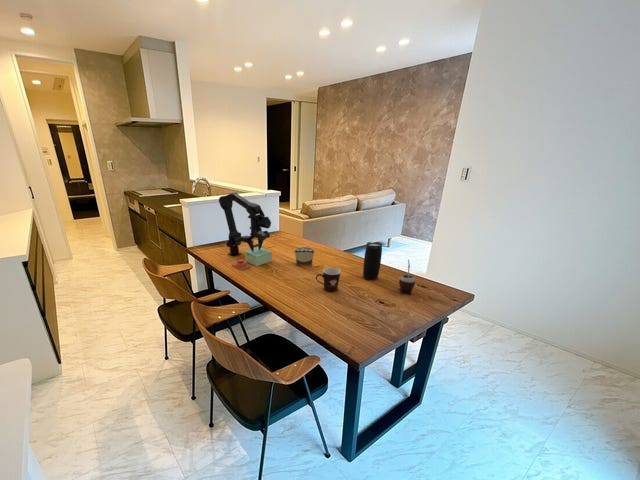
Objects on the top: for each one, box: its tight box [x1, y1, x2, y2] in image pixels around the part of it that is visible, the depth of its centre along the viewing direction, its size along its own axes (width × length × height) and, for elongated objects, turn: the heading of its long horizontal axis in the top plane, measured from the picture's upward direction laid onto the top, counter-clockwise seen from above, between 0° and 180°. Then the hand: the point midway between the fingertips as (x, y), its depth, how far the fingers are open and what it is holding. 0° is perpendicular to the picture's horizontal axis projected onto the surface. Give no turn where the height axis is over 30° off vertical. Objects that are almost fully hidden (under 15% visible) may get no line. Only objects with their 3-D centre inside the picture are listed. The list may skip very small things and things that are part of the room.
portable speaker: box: [362, 241, 383, 281], centre depth 160 cm, size 9×9×20 cm
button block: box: [232, 260, 251, 271], centre depth 182 cm, size 10×6×3 cm, turn 41°
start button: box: [237, 258, 245, 264], centre depth 181 cm, size 4×4×2 cm
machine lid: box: [243, 243, 273, 258], centre depth 188 cm, size 12×13×5 cm
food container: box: [293, 246, 315, 267], centre depth 183 cm, size 12×6×10 cm, turn 84°
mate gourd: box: [398, 259, 416, 295], centre depth 145 cm, size 8×8×15 cm
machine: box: [244, 252, 273, 267], centre depth 190 cm, size 12×13×5 cm
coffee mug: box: [315, 267, 342, 293], centre depth 150 cm, size 12×9×10 cm
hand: (256, 249), depth 189 cm, fingers closed on machine lid, 6 cm apart
